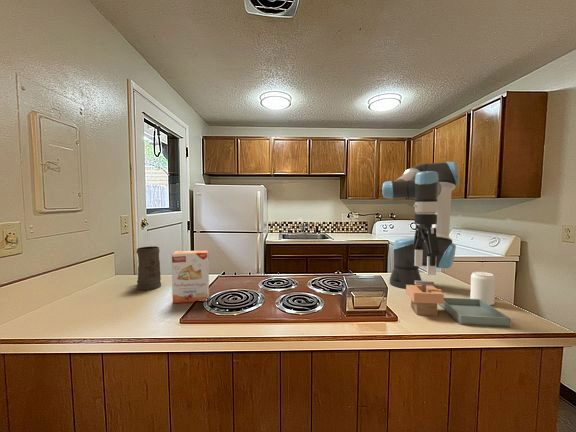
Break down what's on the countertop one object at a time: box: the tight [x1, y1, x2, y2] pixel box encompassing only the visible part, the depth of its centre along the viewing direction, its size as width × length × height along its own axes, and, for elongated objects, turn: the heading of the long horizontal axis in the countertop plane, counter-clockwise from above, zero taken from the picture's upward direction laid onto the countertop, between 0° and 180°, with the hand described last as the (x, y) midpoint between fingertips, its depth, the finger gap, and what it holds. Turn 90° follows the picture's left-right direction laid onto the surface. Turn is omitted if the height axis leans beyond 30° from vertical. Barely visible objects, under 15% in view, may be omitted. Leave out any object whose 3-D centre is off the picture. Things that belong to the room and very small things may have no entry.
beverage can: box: [469, 271, 496, 306], centre depth 111 cm, size 8×8×12 cm
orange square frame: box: [405, 285, 445, 305], centre depth 102 cm, size 10×11×4 cm
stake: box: [410, 280, 438, 317], centre depth 102 cm, size 7×7×12 cm
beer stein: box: [136, 245, 162, 291], centre depth 135 cm, size 15×11×20 cm
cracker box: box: [171, 250, 210, 304], centre depth 114 cm, size 14×6×21 cm, turn 100°
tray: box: [438, 297, 512, 328], centre depth 99 cm, size 18×15×3 cm
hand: (424, 270), depth 102 cm, fingers open, 13 cm apart
